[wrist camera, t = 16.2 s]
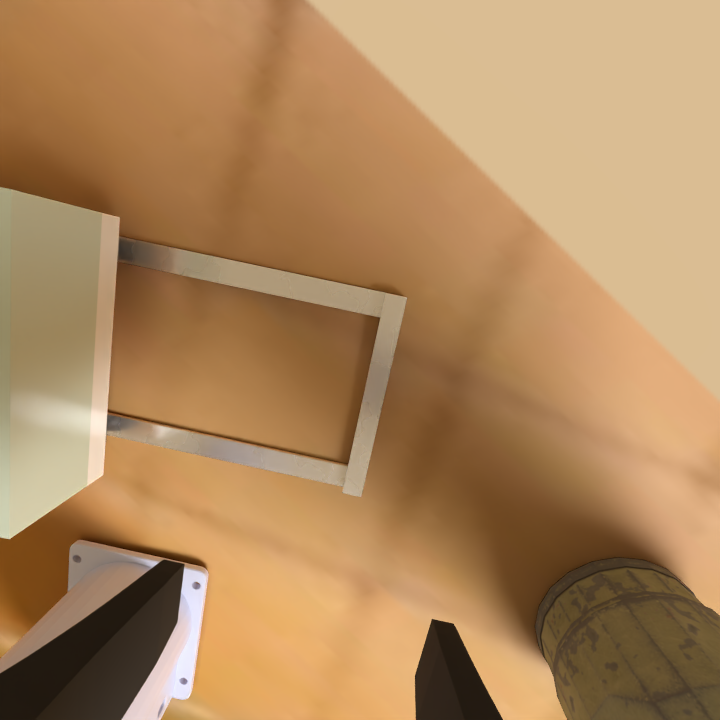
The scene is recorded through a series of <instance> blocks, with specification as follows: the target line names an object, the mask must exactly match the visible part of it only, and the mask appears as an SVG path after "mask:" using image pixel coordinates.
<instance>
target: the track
mask: <svg viewBox="0 0 720 720" xmlns="http://www.w3.org/2000/svg"><path fill="white" fill-rule="evenodd" d="M119 239H120V242H119V257H118V261H117V262H121V263H126V264H131V265H136V266H140V267H145V268H150V269H154V270H159V271H164V272H168V273H173V274H178V275H183V276H187V277H192V278H197V279H201V280H206V281H211V282H216V283H220V284H225V285H230V286H234V287H239V288H244V289H248V290H253V291H258V292H263V293H267V294H272V295H277V296H281V297H286V298H291V299H295V300H300V301H305V302H310V303H314V304H319V305H324V306H328V307H333V308H338V309H342V310H347V311H352V312H357V313H361V314H366V315H371V316H375V317H380V321H379V326H378V330H377V335H376V340H375V344H374V349H373V353H372V358H371V362H370V367H369V372H368V376H367V381H366V385H365V390H364V395H363V399H362V404H361V408H360V413H359V418H358V422H357V427H356V431H355V436H354V440H353V445H352V450H351V454H350V459H349V463H348V465H347V464H342V463H338V462H333V461H329V460H324V459H319V458H315V457H310V456H306V455H301V454H297V453H292V452H287V451H283V450H278V449H274V448H269V447H264V446H260V445H255V444H251V443H246V442H242V441H237V440H232V439H228V438H223V437H219V436H214V435H209V434H205V433H200V432H196V431H191V430H187V429H182V428H177V427H173V426H168V425H164V424H159V423H154V422H150V421H145V420H141V419H136V418H131V417H127V416H122V415H118V414H113V413H109V412H107V422H108V425H107V435H109V436H114V437H118V438H123V439H128V440H132V441H137V442H141V443H146V444H150V445H155V446H160V447H164V448H169V449H173V450H178V451H182V452H187V453H191V454H196V455H201V456H205V457H210V458H214V459H219V460H223V461H228V462H233V463H237V464H242V465H246V466H251V467H255V468H260V469H265V470H269V471H274V472H278V473H283V474H287V475H292V476H297V477H301V478H306V479H310V480H315V481H319V482H324V483H329V484H333V485H338V486H342V487H343V492H342V493H345V494H349V495H354V496H358V497H361V496H362V492H363V487H364V483H365V479H366V474H367V470H368V466H369V461H370V457H371V453H372V448H373V444H374V440H375V435H376V431H377V427H378V422H379V418H380V414H381V409H382V405H383V401H384V396H385V392H386V388H387V383H388V379H389V375H390V370H391V366H392V362H393V357H394V353H395V349H396V344H397V340H398V336H399V331H400V327H401V323H402V318H403V314H404V310H405V305H406V301H407V297H404V296H399V295H394V294H390V293H385V292H380V291H375V290H371V289H366V288H361V287H357V286H352V285H347V284H342V283H338V282H333V281H328V280H323V279H319V278H314V277H309V276H305V275H300V274H295V273H290V272H286V271H281V270H276V269H272V268H267V267H262V266H257V265H253V264H248V263H243V262H238V261H234V260H229V259H224V258H220V257H215V256H210V255H205V254H201V253H196V252H191V251H186V250H182V249H177V248H172V247H168V246H163V245H158V244H153V243H149V242H144V241H139V240H135V239H130V238H125V237H120V236H119Z"/></svg>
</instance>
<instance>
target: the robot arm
mask: <svg viewBox="0 0 720 720" xmlns="http://www.w3.org/2000/svg"><path fill="white" fill-rule="evenodd" d="M196 582H198V583H199V584H198V583H196ZM207 583H208V571H207V570H206V569H205V568H204V567H202V566H197V565H193V564H188V563H184V562H180V561H175V560H171V559H166V558H162V557H157V556H153V555H148V554H144V553H139V552H135V551H130V550H126V549H121V548H117V547H112V546H108V545H103V544H99V543H94V542H90V541H85V540H77V541H76V542H75V543H73V544H72V545H71V546H70V552H69V573H68V593H67V594H66V595H65V596H63V597H62V598H61V599H60V600H59V601H58V602H57V603H56V604H55V605H54V606H53V607H52V608H51V609H50V610H49V611H48V612H47V613H46V614H45V615H44V616H43V617H42V618H41V619H40V620H39V621H38V622H37V623H36V624H35V625H34V626H33V627H32V628H31V629H30V630H29V631H28V632H27V633H26V634H25V635H24V636H23V637H22V638H21V639H20V640H19V641H18V642H17V643H16V644H15V645H14V646H13V647H12V648H11V649H10V650H8V651H7V652H6V653H5V654H4V655H3V656H2V657H1V658H0V720H161V718H162V716H163V714H164V712H165V710H166V708H167V706H168V704H169V702H170V700H171V698H177V699H181V700H184V699H187V698H189V696H190V694H191V692H192V689H193V682H194V675H195V668H196V661H197V654H198V647H199V640H200V632H201V625H202V618H203V611H204V604H205V597H206V590H207ZM415 702H416V720H503V719H502V717H501V715H500V713H499V712H498V710H497V708H496V706H495V704H494V702H493V700H492V699H491V697H490V695H489V693H488V691H487V689H486V687H485V685H484V684H483V682H482V680H481V678H480V676H479V674H478V672H477V670H476V668H475V666H474V664H473V662H472V660H471V658H470V656H469V654H468V652H467V650H466V648H465V646H464V644H463V642H462V640H461V637H460V635H459V633H458V631H457V629H456V627H455V626H454V624H452V623H448V622H443V621H439V620H434V619H432V621H431V624H430V628H429V631H428V634H427V638H426V641H425V644H424V648H423V651H422V654H421V658H420V661H419V664H418V668H417V671H416V674H415Z"/></svg>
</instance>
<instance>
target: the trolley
mask: <svg viewBox="0 0 720 720" xmlns="http://www.w3.org/2000/svg"><path fill="white" fill-rule="evenodd" d="M119 226H120V217H116V216H112V215H109V214H105V213H101V212H97V211H93V210H89V209H85V208H82V207H78V206H74V205H70V204H66V203H62V202H58V201H54V200H51V199H47V198H43V197H39V196H35V195H31V194H27V193H23V192H20V191H16V190H12V189H7V188H2V187H0V537H1V538H6V539H10V538H12V537H13V536H15V535H16V534H18V533H19V532H21V531H22V530H24V529H25V528H27V527H28V526H29V525H31V524H32V523H34V522H35V521H37V520H38V519H40V518H41V517H43V516H44V515H45V514H47V513H48V512H50V511H51V510H53V509H54V508H56V507H57V506H59V505H60V504H62V503H63V502H64V501H66V500H67V499H69V498H70V497H72V496H73V495H75V494H76V493H78V492H79V491H81V490H82V489H83V488H85V487H86V486H88V485H89V484H91V483H92V482H94V481H95V480H97V479H98V478H100V477H101V476H102V475H103V471H104V456H105V443H106V440H107V425H108V422H107V410H108V394H109V379H110V364H111V348H112V333H113V318H114V302H115V287H116V272H117V261H118V257H119V242H120V239H119Z"/></svg>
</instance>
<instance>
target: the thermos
mask: <svg viewBox="0 0 720 720" xmlns="http://www.w3.org/2000/svg"><path fill="white" fill-rule="evenodd" d="M535 629H536V634H537V640H538V645H539V648H540V650H541V652H542V655H543V657H544V658H545V660H546V661H547V663H548V665H549V667H550V669H551V672H552V674H553V676H554V681H555V687H556V692H557V697H558V699H559V701H560V704H561V706H562V708H563V711H564V713H565V715H566V718H567V720H720V616H719V615H718V614H717V613H716V612H715V611H713V610H712V609H710V608H708V607H705V606H704V605H703V604H702V603H701V602H700V601H699V600H698V599H697V598H696V597H695V595H694V593H693V592H692V591H691V590H690V589H689V588H688V587H687V586H686V585H685V584H684V583H682V582H681V581H680V580H679V579H678V578H677V577H675V576H674V575H673V574H672V573H671V572H670V571H668V570H667V569H665V568H663V567H660V566H658V565H655V564H653V563H650V562H648V561H645V560H639V559H629V558H612V559H606V560H600V561H594V562H591V563H588V564H586V565H584V566H582V567H580V568H577V569H575V570H573V571H571V572H569V573H567V574H566V575H565V576H564V577H563V578H562V579H560V580H559V581H558V582H557V583H556V584H555V585H553V586H552V587H551V588H550V590H549V591H548V593H547V594H546V596H545V598H544V599H543V601H542V603H541V604H540V606H539V609H538V614H537V619H536V624H535Z"/></svg>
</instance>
